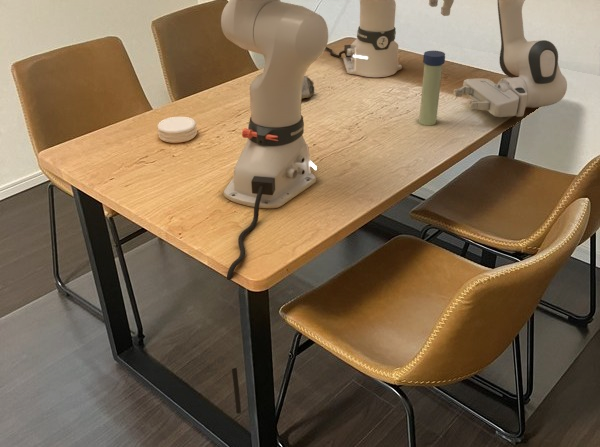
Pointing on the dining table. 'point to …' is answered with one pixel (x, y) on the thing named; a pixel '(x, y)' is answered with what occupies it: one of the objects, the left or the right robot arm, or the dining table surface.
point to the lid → (434, 58)
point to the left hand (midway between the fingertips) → (438, 10)
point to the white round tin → (177, 129)
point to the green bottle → (430, 94)
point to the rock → (307, 88)
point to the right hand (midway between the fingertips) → (462, 99)
